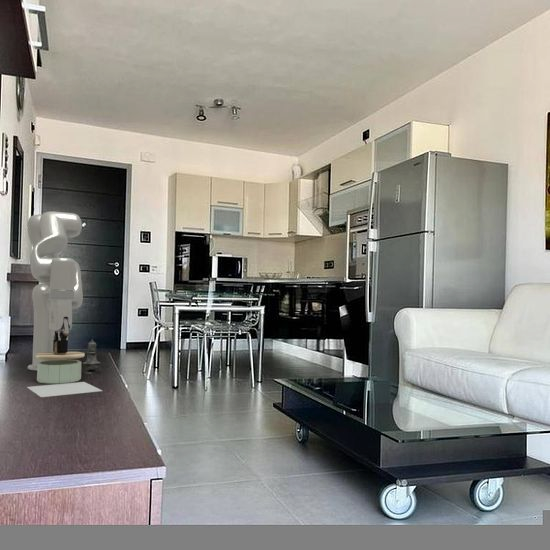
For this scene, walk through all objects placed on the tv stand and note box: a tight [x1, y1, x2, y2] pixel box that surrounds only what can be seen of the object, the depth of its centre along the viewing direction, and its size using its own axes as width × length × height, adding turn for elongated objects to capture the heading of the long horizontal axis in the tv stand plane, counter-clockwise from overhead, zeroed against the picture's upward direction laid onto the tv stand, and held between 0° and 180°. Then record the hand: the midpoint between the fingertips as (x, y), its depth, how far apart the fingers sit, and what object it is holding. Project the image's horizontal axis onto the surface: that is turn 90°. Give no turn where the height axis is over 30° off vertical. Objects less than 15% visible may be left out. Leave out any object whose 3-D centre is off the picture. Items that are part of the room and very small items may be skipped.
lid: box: [35, 341, 86, 360], centre depth 169 cm, size 15×15×5 cm
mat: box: [26, 381, 103, 398], centre depth 154 cm, size 17×17×1 cm
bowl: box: [36, 359, 82, 384], centre depth 169 cm, size 13×13×6 cm
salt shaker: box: [82, 339, 101, 375], centre depth 186 cm, size 6×6×12 cm
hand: (60, 351), depth 169 cm, fingers closed on lid, 3 cm apart
